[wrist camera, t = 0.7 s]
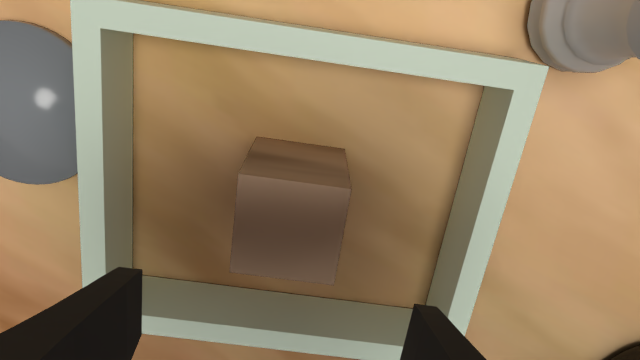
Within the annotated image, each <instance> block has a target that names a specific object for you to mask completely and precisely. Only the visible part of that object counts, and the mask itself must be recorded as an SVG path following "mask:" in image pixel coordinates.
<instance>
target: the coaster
mask: <svg viewBox="0 0 640 360" xmlns="http://www.w3.org/2000/svg"><path fill="white" fill-rule="evenodd" d="M77 173H78V170H77V146H76V123H75V99H74V76H73V53H72V44H71V43H70V42H69V41H68V40H66V39H65V38H63V37H62V36H60V35H59V34H57V33H55V32H53V31H51V30H49V29H47V28H45V27H42V26H39V25H36V24H33V23H28V22H24V21H13V20H7V21H0V176H2V177H4V178H6V179H9V180H13V181H16V182H21V183H26V184H50V183H56V182H59V181H62V180H65V179H68V178H70V177H72V176H74V175H75V174H77Z"/></svg>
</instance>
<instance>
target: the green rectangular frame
mask: <svg viewBox="0 0 640 360" xmlns="http://www.w3.org/2000/svg"><path fill="white" fill-rule="evenodd" d="M70 6H71V29H72V53H73V76H74V99H75V123H76V146H77V170H78V193H79V217H80V240H81V264H82V287H83V288H84V287H85V286H87V285H89V284H90V283H92V282H94V281H95V280H97V279H98V278H100V277H102V276H103V275H105V274H107V273H108V272H110V271H112V270H114V269H116V268H117V267H125V268H132V263H133V33H136V34H143V35H149V36H156V37H163V38H169V39H176V40H183V41H189V42H196V43H203V44H209V45H216V46H223V47H229V48H236V49H243V50H249V51H256V52H263V53H270V54H276V55H283V56H290V57H296V58H303V59H310V60H316V61H323V62H330V63H336V64H343V65H350V66H356V67H363V68H370V69H376V70H383V71H390V72H396V73H403V74H410V75H417V76H423V77H430V78H437V79H443V80H450V81H457V82H463V83H470V84H477V85H483V86H484V90H483V94H482V97H481V101H480V105H479V108H478V112H477V116H476V120H475V123H474V127H473V131H472V134H471V138H470V142H469V146H468V149H467V153H466V157H465V160H464V164H463V168H462V172H461V175H460V179H459V183H458V186H457V190H456V194H455V198H454V201H453V205H452V209H451V212H450V216H449V220H448V224H447V227H446V231H445V235H444V238H443V242H442V246H441V250H440V253H439V257H438V261H437V264H436V268H435V272H434V276H433V279H432V283H431V287H430V290H429V294H428V298H427V302H426V305H428V306H436V307H438V308H439V309H440V310H441V311H442V312H443V314H444V315H445V316H446V317H447V318H448V319H449V320H450V321H451V322H452V323H453V324H454V325H455V327H456V328H457V329H458V330H459V331H460V332H461V333H462V334H463V335H464V336H465V333H466V330H467V327H468V324H469V321H470V317H471V314H472V311H473V308H474V305H475V301H476V298H477V295H478V292H479V289H480V286H481V282H482V279H483V276H484V273H485V270H486V266H487V263H488V260H489V257H490V254H491V250H492V247H493V244H494V241H495V238H496V235H497V231H498V228H499V225H500V222H501V219H502V215H503V212H504V209H505V206H506V203H507V199H508V196H509V193H510V190H511V187H512V184H513V180H514V177H515V174H516V171H517V168H518V164H519V161H520V158H521V155H522V152H523V148H524V145H525V142H526V139H527V136H528V132H529V129H530V126H531V123H532V120H533V117H534V113H535V110H536V107H537V104H538V101H539V97H540V94H541V91H542V88H543V85H544V81H545V78H546V75H547V72H548V69H549V66H545V65H541V64H537V63H533V62H529V61H526V60H522V59H518V58H512V57H506V56H499V55H493V54H486V53H480V52H473V51H467V50H460V49H454V48H447V47H440V46H434V45H427V44H421V43H414V42H408V41H401V40H395V39H388V38H382V37H375V36H369V35H362V34H356V33H349V32H343V31H336V30H330V29H323V28H316V27H310V26H303V25H297V24H290V23H284V22H277V21H271V20H264V19H258V18H251V17H245V16H238V15H232V14H225V13H219V12H212V11H205V10H199V9H192V8H186V7H179V6H173V5H166V4H160V3H153V2H147V1H140V0H70ZM412 311H413V309H409V308H401V307H393V306H385V305H377V304H369V303H361V302H353V301H345V300H337V299H329V298H321V297H313V296H305V295H297V294H288V293H280V292H272V291H264V290H256V289H248V288H240V287H232V286H224V285H216V284H208V283H200V282H192V281H184V280H176V279H168V278H160V277H152V276H144V275H142V334H150V335H159V336H167V337H176V338H184V339H192V340H201V341H209V342H218V343H226V344H235V345H243V346H252V347H260V348H269V349H277V350H286V351H294V352H302V353H311V354H319V355H328V356H336V357H345V358H353V359H362V360H400V357H401V353H402V349H403V346H404V342H405V338H406V334H407V330H408V326H409V322H410V319H411V315H412Z"/></svg>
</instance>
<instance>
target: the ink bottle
mask: <svg viewBox="0 0 640 360" xmlns="http://www.w3.org/2000/svg"><path fill="white" fill-rule="evenodd" d="M611 360H640V346H636V347H633V348H631V349H628V350H626V351H624V352H622V353H620V354H618V355H617V356H615V357H613V358H612V359H611Z"/></svg>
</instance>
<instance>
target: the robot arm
mask: <svg viewBox="0 0 640 360" xmlns="http://www.w3.org/2000/svg"><path fill="white" fill-rule="evenodd" d="M141 334H142V270H141V269H133V268H125V267H117V268H116V269H114V270H112V271H110V272H108V273H107V274H105V275H103V276H102V277H100V278H98V279H97V280H95V281H94V282H92V283H90V284H89V285H87V286H85V287H84V288H82V289H80V290H79V291H77V292H75V293H74V294H72V295H70V296H69V297H67V298H65V299H63V300H62V301H60V302H58V303H57V304H55V305H53V306H51V307H50V308H48V309H46V310H44V311H42V312H40V313H38V314H37V315H35V316H33V317H31V318H29V319H27V320H25V321H24V322H22V323H20V324H18V325H16V326H14V327H12V328H10V329H8V330H6V331H4V332H2V333H0V360H131V359H132V356H133V354H134V352H135V349H136V347H137V344H138V342H139V339H140V337H141ZM400 360H486V359H485V358H484V357H483V356H482V355H481V354H480V352H479V351H478V350H477V349H476V348H475V347H474V346H473V345H472V344H471V343H470V342H469V341H468V340H467V339H466V338H465V336H464V335H463V334H462V333H461V332H460V331H459V330H458V329H457V328H456V327H455V325H454V324H453V323H452V322H451V321H450V320H449V319H448V318H447V317H446V316H445V315H444V314H443V312H442V311H441V310H440V309H439V308H438V307H436V306H428V305H420V304H414V307H413V311H412V315H411V319H410V322H409V326H408V330H407V334H406V338H405V342H404V346H403V349H402V353H401V357H400Z"/></svg>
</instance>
